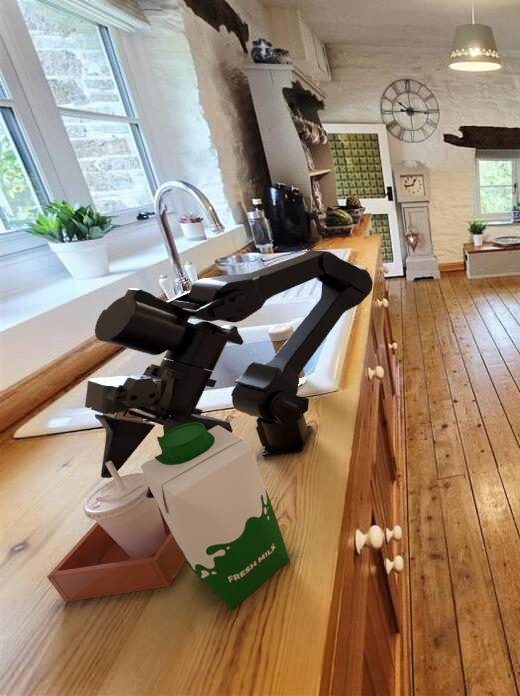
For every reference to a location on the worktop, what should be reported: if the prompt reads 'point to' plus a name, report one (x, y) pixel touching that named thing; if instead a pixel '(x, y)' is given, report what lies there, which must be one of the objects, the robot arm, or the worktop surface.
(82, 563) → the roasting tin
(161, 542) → the smoothie
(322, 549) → the worktop surface
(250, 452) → the milk carton
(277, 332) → the sprinkles bottle
